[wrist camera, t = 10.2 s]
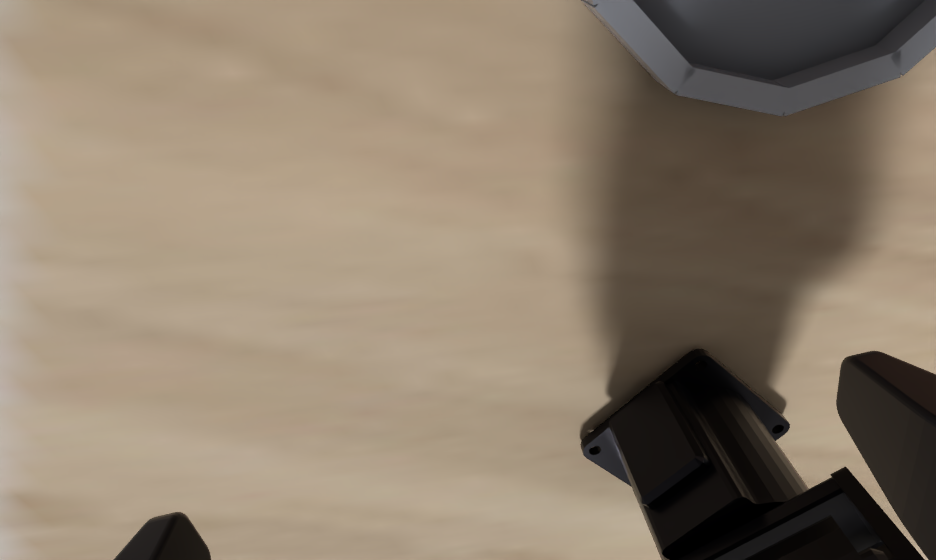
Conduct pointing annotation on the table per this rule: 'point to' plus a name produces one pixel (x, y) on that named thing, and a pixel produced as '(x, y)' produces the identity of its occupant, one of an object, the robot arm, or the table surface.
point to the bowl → (771, 46)
